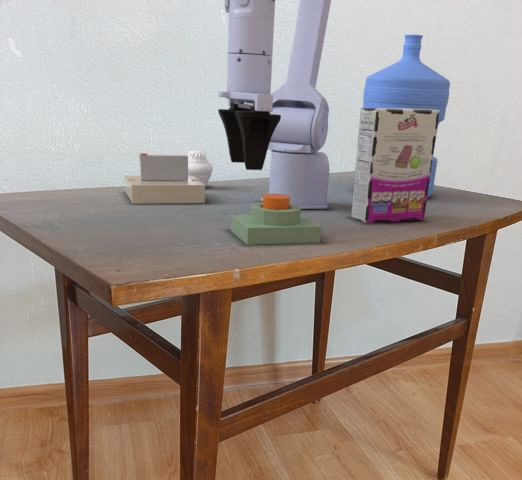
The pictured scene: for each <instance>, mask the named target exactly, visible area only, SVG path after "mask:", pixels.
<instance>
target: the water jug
mask: <svg viewBox="0 0 522 480" xmlns="http://www.w3.org/2000/svg"><path fill="white" fill-rule="evenodd" d="M423 37H424V36H423V35H422V34H404V43H403V47H402V56H401V58H400V59H399V61H396V62H395V63H393V64H391V65H387V66H386V67H384V68H382V69H380V70H378V71H376V72H373V73H372V74H369V75H368V76H366V78H365V85H364V88H363V96H362V101H363V103H362V108H410V109H431V110H438V111H440V112H439V118H438V125H437V130H438V127H439V125H440V123H441V122H443V121H444V120H445V118H446V112H447V111H446V110H447V106H448V104H449V100H450V99H449V98H450V88H451V87H450V86H451V82H450V80H449V79H448V78H446V77H444V76H443V75H442V74H440V73H438V72H437V71H436V70H434V69H433V68H431V67H430V66H428V65H426V64H425V63H424V62H422V60H421V59H420V54H421V50H422V39H423ZM437 134H438V131H437V132H436V136H437ZM436 141H437V138H436V139H435V142H436ZM435 147H436V145H435V146H434V149H435ZM433 155H434V153H433ZM437 167H438V158H437V157H435V156H433V160H432V165H431V174H430V181H429V188H428V195H427V199H428V198H430V197H431V196H432V195H433V193H434V189H435V180H436V179H435V178H436V173H437ZM354 179H355V177H353V180H354Z"/></svg>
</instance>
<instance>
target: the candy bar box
mask: <svg viewBox="0 0 522 480" xmlns="http://www.w3.org/2000/svg"><path fill="white" fill-rule="evenodd" d="M439 112H440V111H438V110H431V109H410V108H363V107H361V108H360V115H359V125H358V137H357V146H356V159H355V169H354V178H355V179H354V178H353V190H352V199H351V202H352V203H351V212H350V218H352V219H353V220H356V221H358V222H362V223H364V224H383V223H384V224H386V223H402V222H416V221H417V222H420V221H424V220H425V215H426V208H427V201H428V198H427V195H428V188H429V181H430V174H431V165H432V160H433V157H434V154H433V153H434V152H435V148H434V146H435V147H436V141H435V139H436V140H437V135H436V132H437V133H438V129H437V125H438V126H439V124H438V118H439Z"/></svg>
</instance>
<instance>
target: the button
mask: <svg viewBox="0 0 522 480" xmlns="http://www.w3.org/2000/svg"><path fill="white" fill-rule="evenodd" d="M262 198H263V202H262V201H261V202H262V208H266V209H273V210H287V209H289V208H290V196H288V195H283V194H269V193H265V194H262Z"/></svg>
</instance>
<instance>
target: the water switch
mask: <svg viewBox="0 0 522 480" xmlns="http://www.w3.org/2000/svg"><path fill="white" fill-rule="evenodd" d="M249 210H250V211H249V214H248V213H247V214H231V215H230V232H232V233H233V234H234V235H235V236H237V237H238V238H239V239H240V240H241V241H242V242H243V243H245V245H247V246H248V245H251V246H252V245H276V244H277V245H279V244H306V243H307V244H309V243H321V234H322V225H320V224H318V223H317V222H314V221H313V220H311V219H309V218H308V217H306V216H304V215H302V214H301V213H302V209H301V207H299V206H297V205H293V204H290V208H289V209H287V210H273V209H266V208H262V201H261V202H253V203H252V204H251V205H250V209H249Z"/></svg>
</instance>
